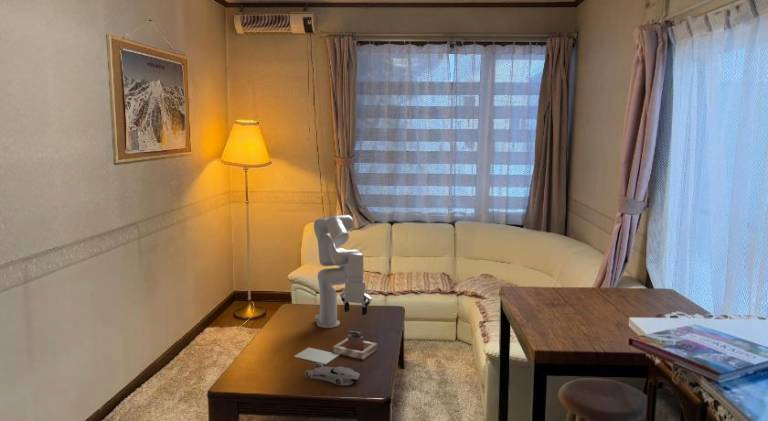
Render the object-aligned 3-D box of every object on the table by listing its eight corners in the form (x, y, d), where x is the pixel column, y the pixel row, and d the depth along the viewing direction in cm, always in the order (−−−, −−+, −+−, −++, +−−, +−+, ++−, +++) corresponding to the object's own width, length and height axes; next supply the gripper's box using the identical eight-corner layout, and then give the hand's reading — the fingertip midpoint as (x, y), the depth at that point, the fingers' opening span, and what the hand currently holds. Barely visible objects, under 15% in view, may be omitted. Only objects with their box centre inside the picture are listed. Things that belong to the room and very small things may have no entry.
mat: (293, 356, 253) (293, 356, 252) (308, 348, 263) (308, 347, 263) (325, 364, 244) (325, 363, 244) (339, 355, 255) (339, 354, 255)
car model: (315, 368, 241) (315, 357, 241) (364, 378, 232) (364, 367, 231) (302, 378, 231) (302, 367, 231) (352, 388, 222) (352, 377, 221)
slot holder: (332, 352, 258) (332, 346, 257) (347, 343, 270) (347, 337, 270) (363, 359, 250) (363, 353, 250) (377, 349, 262) (377, 343, 262)
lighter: (364, 350, 260) (364, 331, 259) (361, 353, 257) (361, 333, 256) (349, 348, 263) (349, 329, 262) (346, 351, 260) (346, 331, 259)
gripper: (336, 278, 256) (336, 312, 258) (367, 282, 248) (367, 318, 250) (344, 274, 262) (344, 308, 265) (375, 278, 255) (375, 313, 257)
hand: (355, 313), depth 257 cm, fingers open, 9 cm apart
